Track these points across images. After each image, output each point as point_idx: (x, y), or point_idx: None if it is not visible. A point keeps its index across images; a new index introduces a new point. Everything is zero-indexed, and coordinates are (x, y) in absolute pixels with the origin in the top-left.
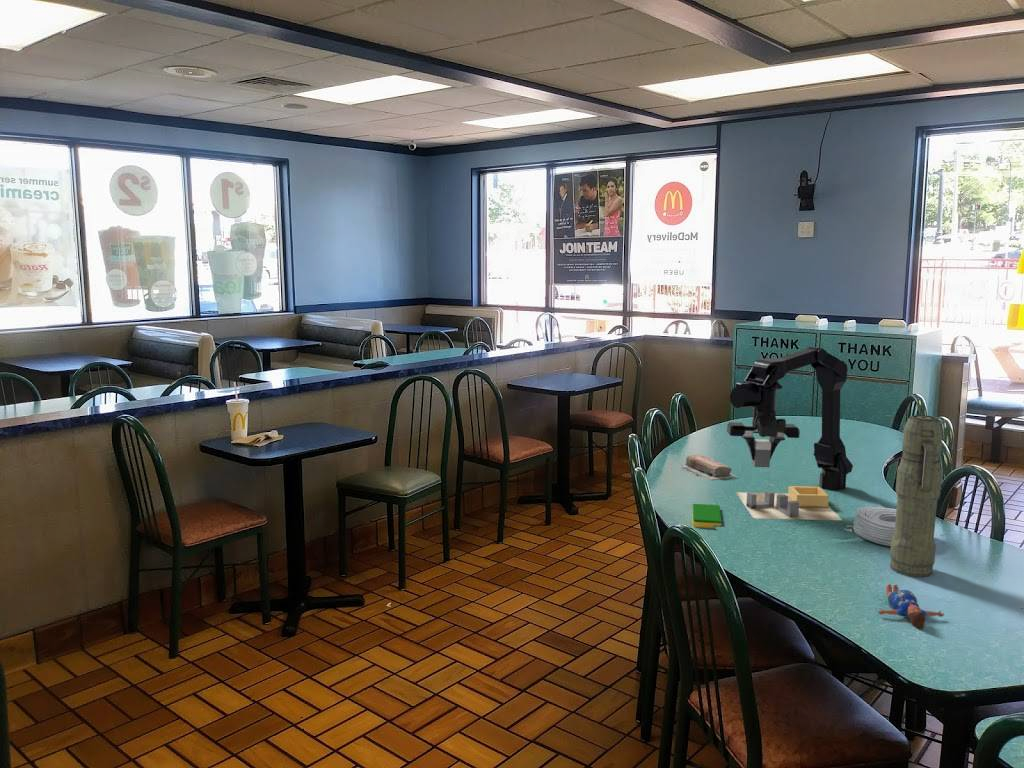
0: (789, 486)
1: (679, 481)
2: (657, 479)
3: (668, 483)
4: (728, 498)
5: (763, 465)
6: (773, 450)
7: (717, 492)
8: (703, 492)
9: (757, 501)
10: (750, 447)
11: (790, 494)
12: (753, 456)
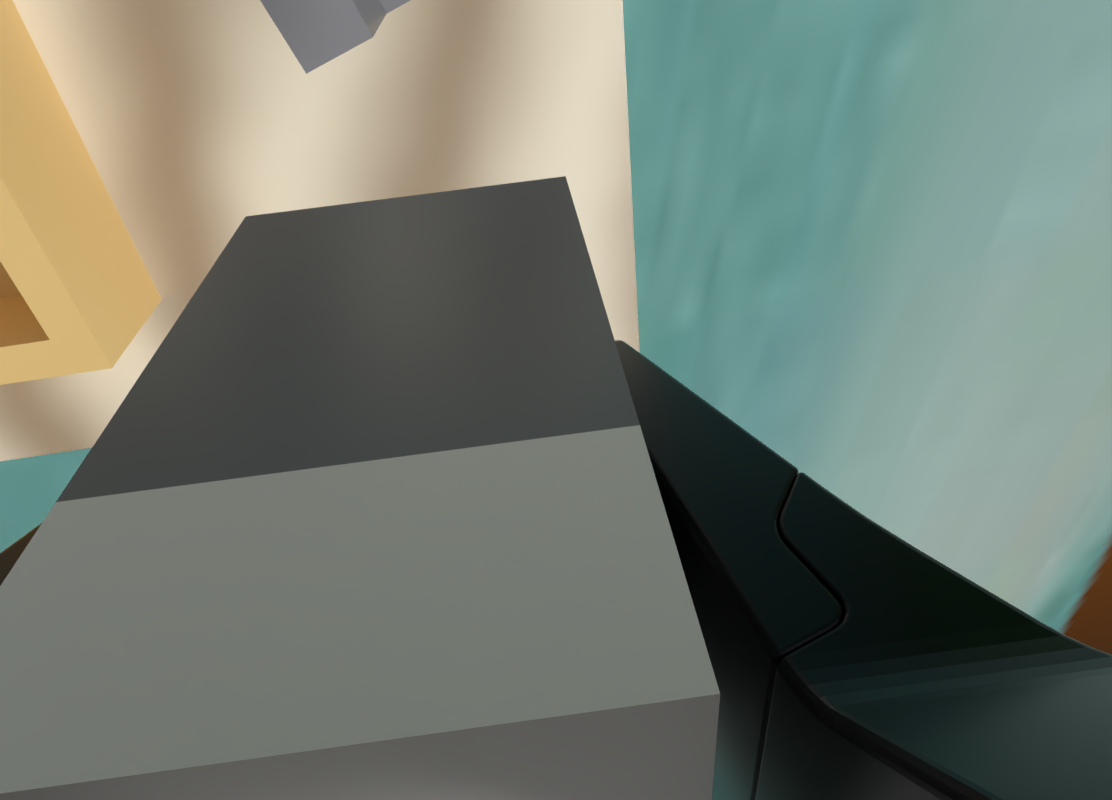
0: (101, 357)
1: (963, 546)
2: (1091, 549)
3: (1058, 495)
4: (716, 248)
5: (375, 214)
6: (9, 567)
7: (770, 385)
8: (883, 361)
9: (462, 123)
10: (834, 512)
11: (99, 256)
12: (626, 376)
